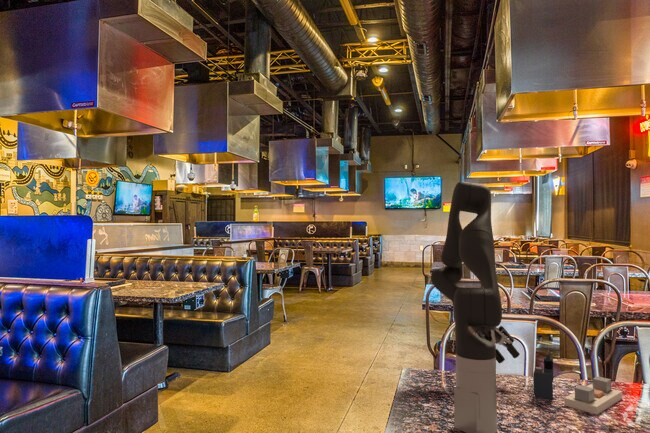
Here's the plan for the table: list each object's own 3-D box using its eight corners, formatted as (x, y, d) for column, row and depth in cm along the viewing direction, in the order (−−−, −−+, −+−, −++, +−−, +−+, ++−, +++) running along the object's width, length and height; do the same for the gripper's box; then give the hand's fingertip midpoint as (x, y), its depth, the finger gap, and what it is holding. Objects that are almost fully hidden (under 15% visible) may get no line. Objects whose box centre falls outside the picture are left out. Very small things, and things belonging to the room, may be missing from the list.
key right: (606, 392, 123) (606, 381, 123) (592, 388, 126) (592, 378, 126) (611, 389, 125) (611, 379, 126) (597, 386, 128) (597, 376, 128)
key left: (589, 402, 116) (588, 391, 116) (574, 398, 118) (574, 387, 119) (594, 399, 118) (594, 388, 118) (580, 395, 121) (580, 385, 121)
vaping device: (555, 399, 123) (554, 356, 124) (534, 398, 125) (533, 355, 125) (552, 396, 126) (551, 354, 126) (532, 394, 127) (532, 352, 128)
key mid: (598, 404, 119) (598, 394, 120) (584, 400, 122) (584, 390, 122) (603, 401, 122) (603, 391, 122) (589, 397, 124) (589, 387, 124)
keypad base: (596, 414, 113) (596, 406, 113) (564, 405, 119) (564, 397, 119) (622, 398, 124) (622, 391, 124) (591, 390, 131) (591, 383, 131)
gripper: (470, 311, 137) (505, 356, 128) (495, 306, 146) (530, 348, 136) (456, 325, 141) (489, 370, 132) (481, 319, 150) (514, 361, 140)
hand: (510, 359), depth 134 cm, fingers open, 8 cm apart
